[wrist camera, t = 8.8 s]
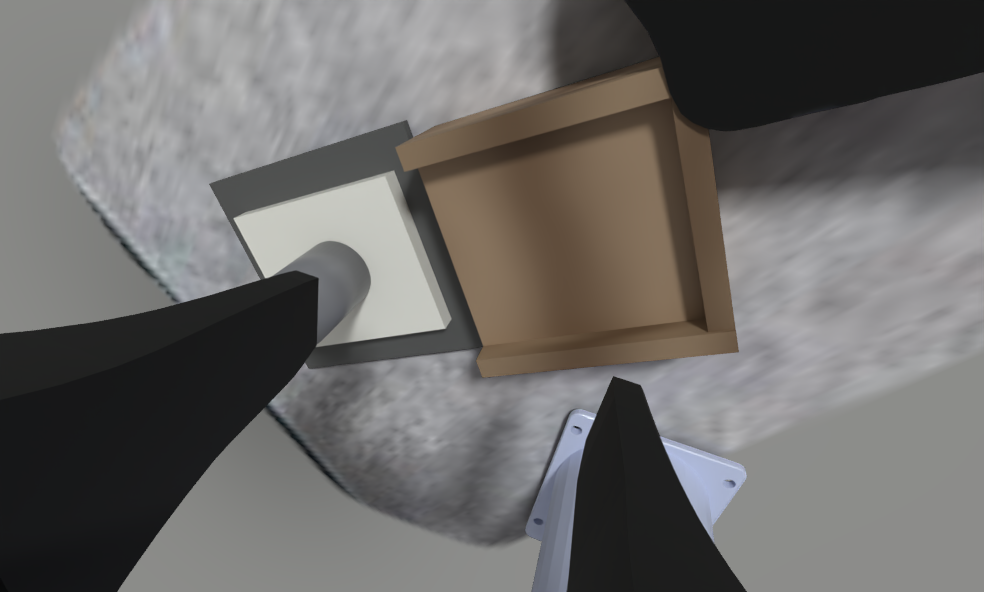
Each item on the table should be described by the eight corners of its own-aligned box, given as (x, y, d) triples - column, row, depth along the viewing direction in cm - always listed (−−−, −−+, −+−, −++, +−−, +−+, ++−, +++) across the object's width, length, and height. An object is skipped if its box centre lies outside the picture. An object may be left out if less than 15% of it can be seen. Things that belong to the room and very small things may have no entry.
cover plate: (393, 170, 20) (336, 206, 16) (451, 319, 23) (413, 377, 19) (245, 212, 23) (169, 250, 19) (312, 340, 26) (256, 394, 22)
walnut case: (690, 47, 16) (698, 55, 13) (725, 299, 19) (738, 351, 16) (434, 126, 19) (395, 147, 16) (504, 329, 23) (482, 377, 20)
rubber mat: (407, 120, 19) (402, 122, 19) (487, 341, 23) (484, 346, 23) (215, 181, 23) (209, 184, 23) (313, 364, 27) (308, 368, 27)
